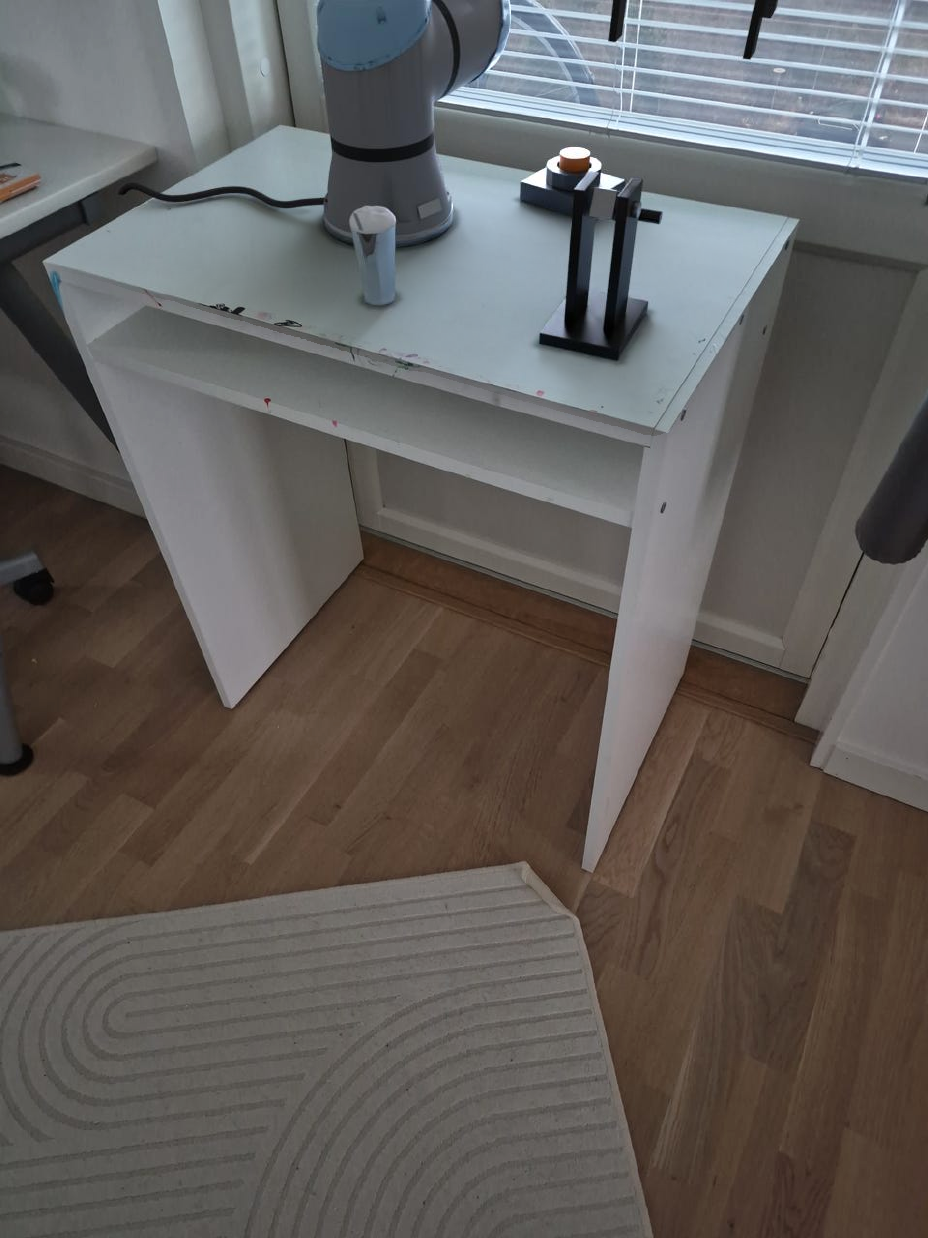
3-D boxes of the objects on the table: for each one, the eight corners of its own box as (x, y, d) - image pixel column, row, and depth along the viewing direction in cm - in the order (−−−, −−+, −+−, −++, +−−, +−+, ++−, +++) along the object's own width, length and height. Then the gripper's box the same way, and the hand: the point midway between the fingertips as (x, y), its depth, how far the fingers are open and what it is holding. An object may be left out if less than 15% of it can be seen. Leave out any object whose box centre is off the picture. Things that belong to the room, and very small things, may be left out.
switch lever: (607, 222, 91) (612, 196, 90) (659, 230, 90) (664, 205, 89) (570, 213, 79) (576, 183, 78) (629, 223, 77) (636, 193, 76)
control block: (519, 199, 108) (520, 165, 106) (557, 178, 113) (559, 145, 110) (587, 220, 104) (590, 185, 101) (624, 198, 108) (628, 163, 105)
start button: (553, 169, 106) (553, 153, 104) (570, 159, 107) (571, 144, 106) (578, 176, 104) (579, 160, 103) (594, 166, 106) (596, 151, 105)
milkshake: (345, 307, 91) (333, 208, 84) (371, 284, 95) (362, 187, 87) (384, 316, 90) (375, 217, 83) (409, 292, 93) (402, 195, 86)
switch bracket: (572, 297, 92) (583, 156, 82) (647, 311, 90) (668, 169, 80) (538, 344, 86) (546, 198, 76) (617, 361, 84) (636, 213, 73)
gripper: (573, -254, 74) (551, 40, 89) (884, -240, 68) (802, 73, 83) (598, -259, 78) (572, 22, 94) (891, -246, 72) (812, 52, 88)
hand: (680, 47), depth 89 cm, fingers open, 13 cm apart
